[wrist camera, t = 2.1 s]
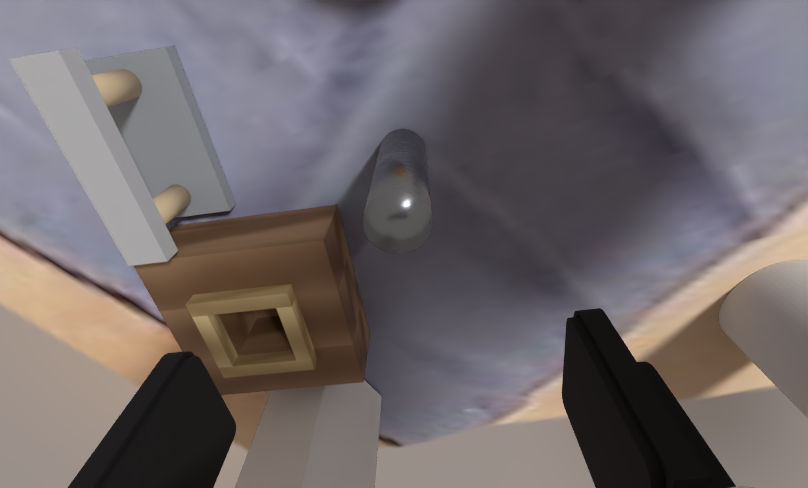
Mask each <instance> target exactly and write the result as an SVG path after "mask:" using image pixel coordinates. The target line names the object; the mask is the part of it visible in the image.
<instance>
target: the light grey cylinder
mask: <svg viewBox="0 0 808 488" xmlns="http://www.w3.org/2000/svg"><path fill="white" fill-rule="evenodd" d="M719 324H720V327H721V329H722V330H723V332H724V333H725V334H726V335H727V336H728V337H729V338H730V339H731V340H732V341H733V342H734V343H735V344H736V345H737V346H738V347H739V348H740V349H741V350H742V351H743V352H744V353H745V354H746V356H747V357H748V358H749V359H750V360H751V361H752V362H753V363H754V364H755V365H756V366H757V367H758V368H759V369H760V370H761V371H762V372H763V373H764V374H765V375H766V376H767V377H768V378H769V379H770V380H771V381H772V382H773V383H774V384H775V385H776V386H777V387H778V389H779V390H780V391H781V392H782V393H783V394H784V395H785V396H786V397H787V398H788V399H789V400H790V401H791V402H792V403H793V404H794V405H795V406H796V407H797V408H798V409H799V410H800V411H801V412H802V413H803V414H804V415H805V416H806V417H807V418H808V260H792V261H785V262H781V263H777V264H774V265H771V266H768V267H765V268H763V269H761V270H759V271H757V272H755V273H753V274H752V275H750V276H748V277H747V278H745V279H744V280H743V281H741V282H740V283H739V284H738V285H737V286H736V287H735V288H734V289H733V290H732V291H731V292H730V293H729V294H728V296H727V297H726V298H725V300H724V302H723V304H722V306H721V308H720V312H719Z"/></svg>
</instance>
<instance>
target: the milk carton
mask: <svg viewBox="0 0 808 488" xmlns="http://www.w3.org/2000/svg"><path fill="white" fill-rule="evenodd" d="M381 401H382V397H381V395H380V394H379V393H378V392H377V391H376V390H374V389H373V388H372V387H371V386H370V385H369V384H368V383H367V382H366V381H365V380H364V382H361V383H349V384H338V385H327V386H315V387H304V388H293V389H281V390H271V393H270V395H269V398H268V401H267V403H266V406H265V409H264V411H263V414H262V417H261V419H260V422H259V425H258V427H257V430H256V433H255V435H254V438H253V441H252V443H251V446H250V449H249V452H248V454H247V457H246V460H245V463H244V465H243V468H242V470H241V473H240V476H239V478H238V481H237V484H236V487H235V488H375V476H376V464H377V451H378V439H379V426H380V414H381Z"/></svg>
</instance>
